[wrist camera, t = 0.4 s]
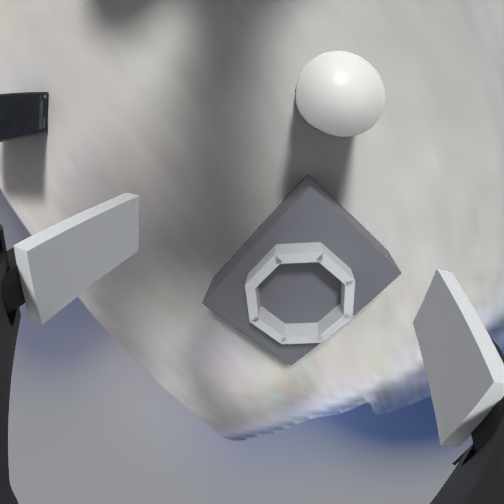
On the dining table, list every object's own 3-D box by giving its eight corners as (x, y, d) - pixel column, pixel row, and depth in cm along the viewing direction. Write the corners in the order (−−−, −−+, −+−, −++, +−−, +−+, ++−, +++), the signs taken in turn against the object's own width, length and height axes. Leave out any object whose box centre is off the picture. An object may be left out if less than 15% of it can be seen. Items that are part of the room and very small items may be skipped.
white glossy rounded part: (322, 57, 30) (335, 33, 20) (370, 99, 31) (402, 94, 21) (281, 101, 32) (276, 95, 22) (330, 143, 34) (346, 155, 24)
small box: (49, 89, 33) (-4, 92, 24) (48, 133, 36) (-4, 145, 27) (6, 98, 34) (-43, 105, 25) (5, 137, 37) (-42, 150, 27)
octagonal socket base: (307, 174, 35) (311, 192, 28) (387, 250, 38) (408, 284, 30) (213, 278, 42) (196, 315, 35) (291, 336, 45) (290, 378, 37)
